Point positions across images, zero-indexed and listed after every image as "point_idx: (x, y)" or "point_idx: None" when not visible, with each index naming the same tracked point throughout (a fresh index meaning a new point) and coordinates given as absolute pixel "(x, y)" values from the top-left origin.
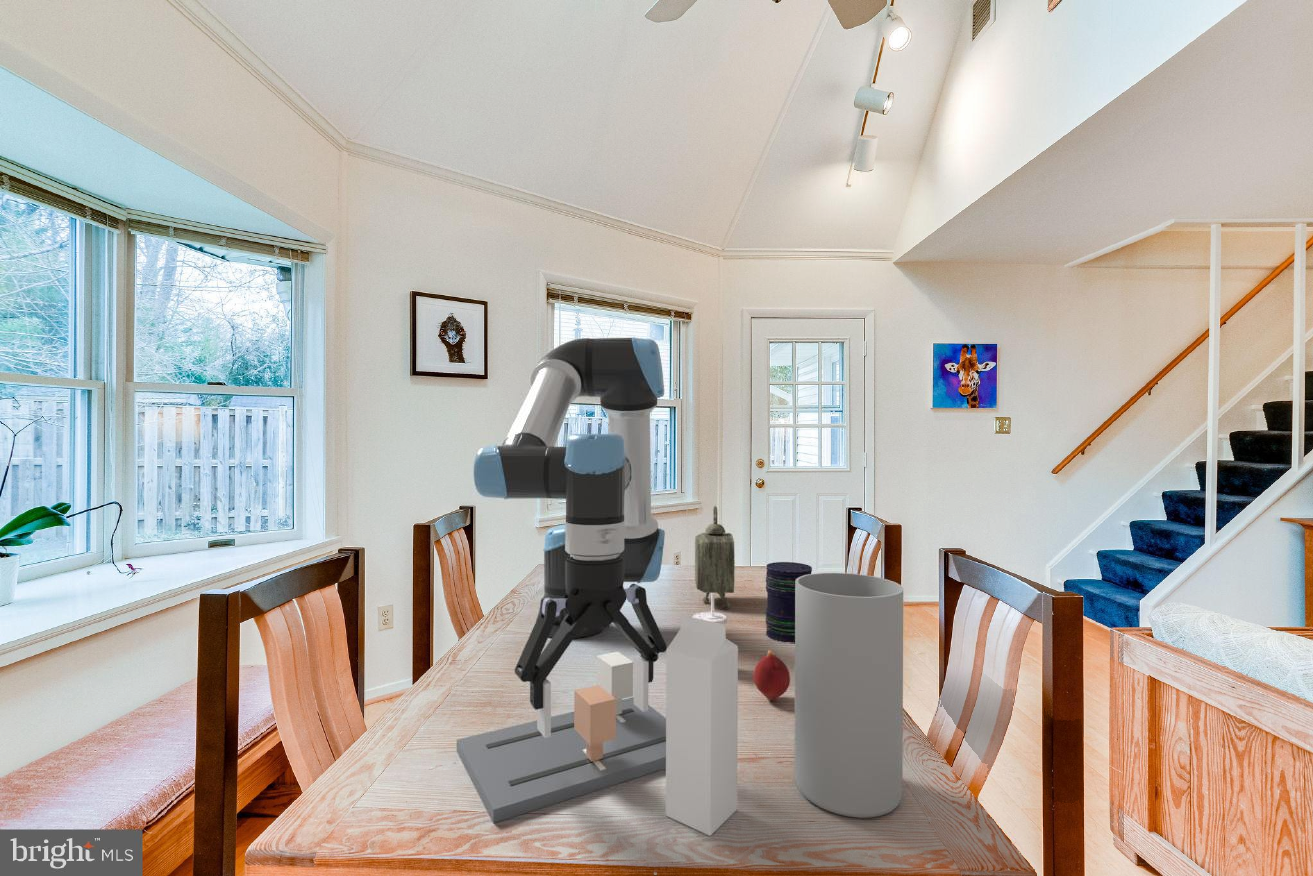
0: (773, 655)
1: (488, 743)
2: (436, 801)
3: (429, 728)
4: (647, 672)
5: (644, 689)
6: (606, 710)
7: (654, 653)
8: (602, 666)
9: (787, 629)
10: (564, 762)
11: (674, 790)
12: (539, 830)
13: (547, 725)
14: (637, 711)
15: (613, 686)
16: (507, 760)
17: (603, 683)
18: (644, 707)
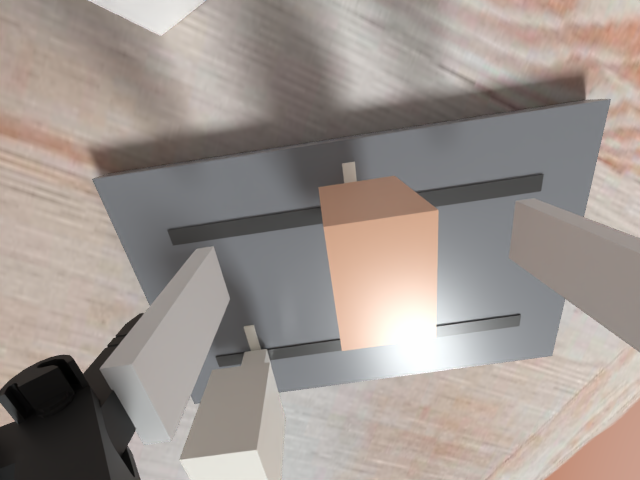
0: None
1: (511, 329)
2: (631, 210)
3: (545, 409)
4: (137, 327)
5: (184, 282)
6: (359, 210)
7: (27, 415)
8: (273, 466)
9: None
10: None
11: None
12: (523, 35)
13: (551, 209)
14: (209, 354)
15: (259, 393)
16: (507, 265)
17: (276, 418)
18: (205, 251)
